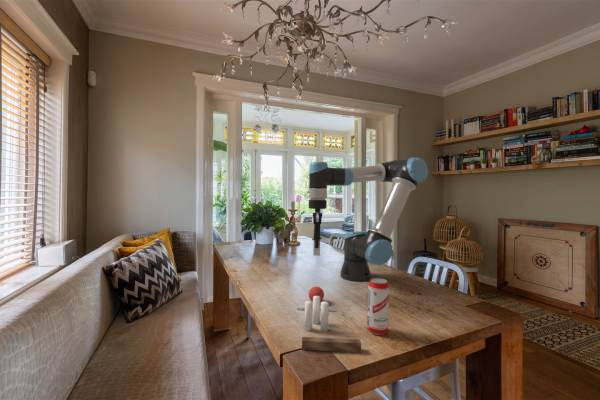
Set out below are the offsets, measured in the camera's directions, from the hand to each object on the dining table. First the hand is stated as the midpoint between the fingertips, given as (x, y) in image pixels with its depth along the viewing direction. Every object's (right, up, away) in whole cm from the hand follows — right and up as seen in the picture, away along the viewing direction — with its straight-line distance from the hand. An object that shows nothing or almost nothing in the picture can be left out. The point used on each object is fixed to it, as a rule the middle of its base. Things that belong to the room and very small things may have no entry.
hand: (316, 255), depth 119 cm
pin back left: (-4, -17, -30) cm, 35 cm away
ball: (-1, -14, -9) cm, 16 cm away
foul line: (-1, -17, -16) cm, 23 cm away
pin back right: (+1, -17, -30) cm, 35 cm away
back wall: (+2, -18, -41) cm, 45 cm away
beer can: (+17, -18, -31) cm, 40 cm away
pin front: (-2, -17, -26) cm, 31 cm away
